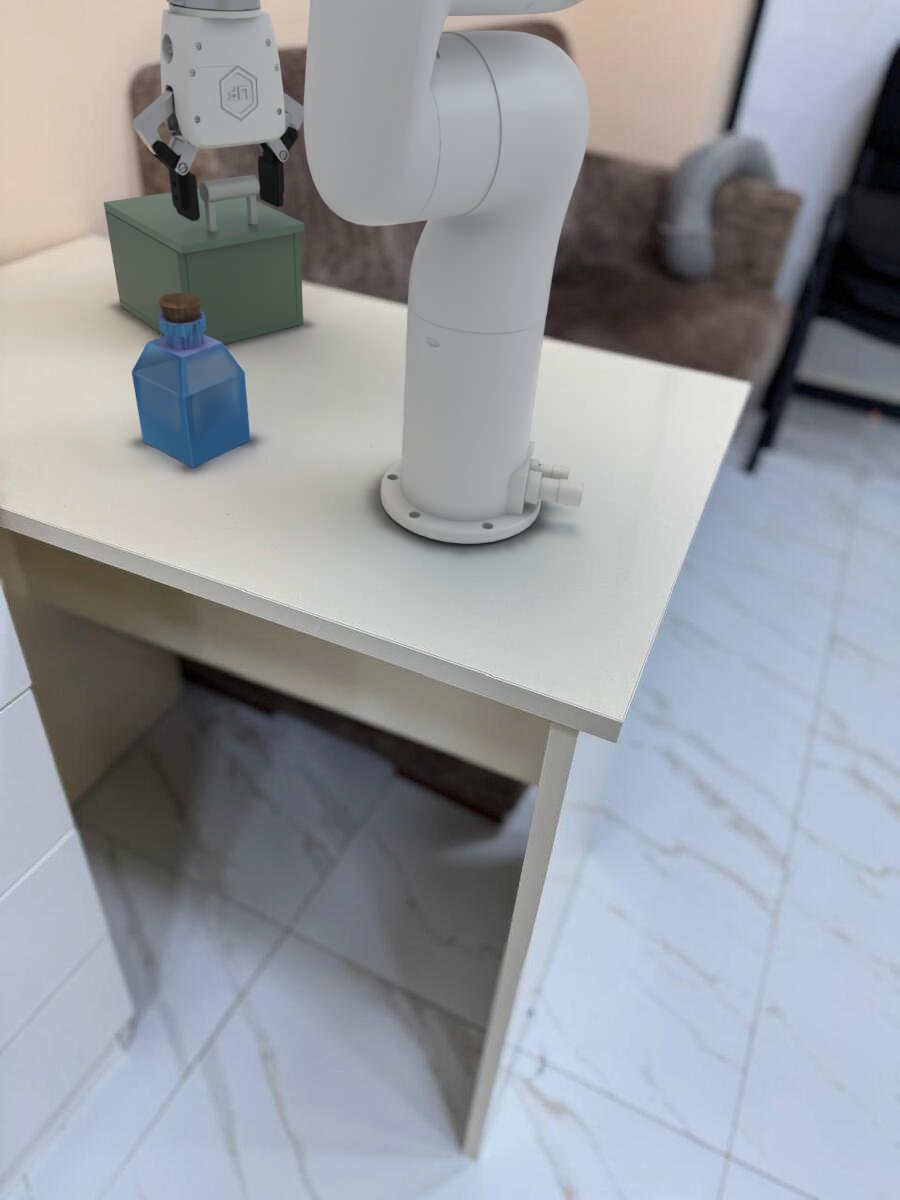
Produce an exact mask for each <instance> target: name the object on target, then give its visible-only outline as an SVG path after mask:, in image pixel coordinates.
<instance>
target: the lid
mask: <svg viewBox="0 0 900 1200" xmlns="http://www.w3.org/2000/svg"><path fill="white" fill-rule="evenodd" d="M197 192H198V202H199V211H200V218H199V219H198V220H197V221H191V220H189V219H187V218H185V217H183V216H182V215H180V214H178V213H177V210H176V208H175V207H174V205H173V201H172V193H171V191H170V192H165V193H158V194H149V195H143V196H136V197H130V198H129V197H128V198H122V199H115V200H107V201H103V207H104V211H107V212H109V213H111V214H113V215H114V216H116V217H118V218H120V219H121V220H123V221H125V222H127V223H128V224H130V225H132V226H134V227H135V228H137V229H139V230H141V231H142V232H144V233H146V234H148V235H149V236H151V237H153V238H155V239H156V240H158V241H160V242H162V243H163V244H165V245H167V246H169V247H170V248H172V249H174V250H176V251H177V252H179V253H181V254H186V253H191V252H196V251H202V250H207V249H213V248H218V247H223V246H229V245H234V244H240V243H245V242H250V241H256V240H261V239H267V238H272V237H277V236H283V235H288V234H294V233H299V232H300V233H304V232H306V223H305V222H303V221H301V220H299V219H296V218H295V217H292V216H290V215H289V214H286V213H283V212H281V211H279V210H277V209H276V208H273V207H271V206H268V205H266V204H264V203H262V202H260V201H258V200H257V196H258V195H260V185H259V178H257V176H256V175H255V174H249V175H242V176H233V177H226V178H219V179H213V180H205V181H201V182H199V184H198V187H197Z"/></svg>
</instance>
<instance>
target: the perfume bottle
mask: <svg viewBox="0 0 900 1200" xmlns="http://www.w3.org/2000/svg"><path fill="white" fill-rule="evenodd" d="M158 302H159V305H160V308H161V310H162V312H161V313H160V314H159V325H160V330H161V331H162V332H163V333H164V334H165V336H163V335H162V336H161V337H157V338H155V339H152V340H149V341H147V342H146V344H145V346H144V347H143V350H142V352H141V353H140V356H139V357H138V358H137V361H136V363H135V365H134V367H133V368H132V371H131V376H132V382H133V390H134V394H135V395H134V396H135V400H136V401H135V402H136V407H137V414H138V419H139V425H140V431H141V438H142V442H143V443H145V444H147V445H149V446H151V447H153V448H154V449H156V450H159V451H160V452H163V453H164V454H166V455H168V456H170V457H172V458H173V459H175V460H177V461H179V462H181V463H183V464H185V465H187V466H189V467H190V468H195V467H197V466H199V465H202V464H204V463H206V462H208V461H210V460H212V459H214V458H217V457H219V456H221V455H223V454H225V453H227V452H230V451H231V450H233V449H236V448H237V447H240V446H242V445H244V444H246V443H248V442H250V441H251V432H250V419H249V408H248V395H247V383H246V372H245V370H244V369H243V368H242V367H241V365H240V364H239V362H238V361H237V360H236V359H235V358H234V356H233V355H232V354H231V352H230V351H229V349H228V348H227V346H226V345H225V344H223V343H222V342H220V341H217V340H215V339H213V338H210V337H208V336H206V335H203V332H204V331H205V330H206V320H205V314H204V313H203V312H202V311H200V308H201V298H200V297H199V296H197V295H194V294H190V293H171V294H167V295H164V296H162V297H161V298H159V300H158Z"/></svg>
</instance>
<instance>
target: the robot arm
mask: <svg viewBox="0 0 900 1200" xmlns="http://www.w3.org/2000/svg"><path fill="white" fill-rule="evenodd" d="M582 1H583V0H309V12H308V29H307V42H306V43H307V44H306V56H305V57H306V59H305V71H304V73H305V74H304V92H303V105H302V104H301V103H299V102H298V101H297V100H295V99H294V98H293V97H291V96H289V94H287V93H286V92H284V85H283V78H282V70H281V62H280V56H279V50H278V44H277V40H276V35H275V30H274V27H273V23H272V19H271V15H270V12H269V13H268V12H266V11H262V8H261V0H166V3H168V8H167V9H163V10H162V17H161V26H160V27H161V29H160V51H159V53H160V54H159V55H160V56H159V57H160V85H161V94H160V95H159V96H158V97H157V98H156V99H155V100H154V101H152V103H150V104H149V105H148V106H147V107H146V108H144V110H142V111H141V113H139V114H138V115H137V116H136V117H135V118H133V121H132V127H133V129H134V130H135V132H136V133H137V135H138V136H139V138H140V139H141V141H142V142H143V143H144V145H145V146H146V149H147V151H149V153H150V154H151V155H152V156H153V157H155V159H157V160H158V161H159V162H160V163H161V164H162V166H163V167H164V168H166V169H168V176H169V184H170V192H171V193H172V201H173V205H174V207H175V208H176V210H177V213H178V214H180V215H182V216H183V217H185V218H187V219H189V220H191V221H197V220H198V219H199V218H200V211H199V202H198V192H197V189H198V181H197V177H196V175H195V174H194V173H192V172H191V170H190V169H191V167H192V165H193V163H194V161H195V159H196V156H198V153H199V151H200V149H203V150H210V149H211V150H212V149H222V148H232V147H238V146H247V145H257V146H258V147H259V149H260V151H261V152H262V154H261V155H258V158H257V171H258V181H259V185H260V191H259V199H260V200H261V201H263V202H265V203H268V205H272V206H273V207H276V208H282V207H284V193H285V169H284V163H285V162H287V161H288V159H289V157H290V156H289V155H290V153H289V152H290V151H291V149H292V147H293V146H294V145H295V143H296V141H297V140H298V137H299V131H300V130H301V127H302V124H303V135H304V137H303V138H304V147H305V154H306V160H307V164H308V169H309V171H310V175H311V178H312V181H313V183H314V185H315V188H316V190H317V193H318V194H319V196H320V198H321V199H322V201H323V202H324V203H325V204H326V206H327V207H328V208H329V209H330V210H331V212H333V213H334V214H335V215H336V216H338V217H340V218H341V219H342V220H345V221H347V222H349V223H352V224H354V225H359V226H365V227H386V226H395V225H401V224H403V225H404V224H405V225H406V224H410V223H411V224H413V223H417V222H423V221H424V222H425V221H426V223H425V225H424V228H423V230H422V232H421V234H420V237H419V238H418V242H417V245H416V247H415V250H414V253H413V258H412V261H411V265H410V270H409V277H408V278H409V279H408V292H407V293H408V294H407V309H406V311H407V312H406V335H405V337H406V338H405V359H404V360H405V361H404V368H405V369H404V386H403V387H404V389H403V390H404V391H403V414H402V415H403V416H402V417H403V418H402V439H401V441H402V442H401V459H399V460H397V461H396V462H395V463H394V464H392V465H391V466H389V467H388V468H387V470H386V472H384V474H383V475H382V479H381V482H380V501H381V504H382V506H383V508H384V511H385V512H386V513H387V515H388V516H390V517H391V519H392V520H393V521H395V522H396V523H398V524H399V525H400V526H402V527H403V528H405V529H406V530H408V531H411V532H412V533H415V534H416V535H419V536H422V537H425V538H428V539H431V540H435V541H440V542H445V543H452V544H461V545H462V544H464V545H467V544H468V545H469V544H473V545H475V544H485V543H494V542H497V541H502V540H505V539H508V538H510V537H513V536H515V535H518V534H520V533H521V532H523V531H525V530H526V529H528V528H529V527H530V526H531V525H532V524H533V523H534V522H535V521H536V519H537V517H538V515H539V513H540V511H541V504H542V502H549V503H554V504H557V505H561V506H562V505H563V506H570V507H575V508H580V506H581V502H582V497H583V496H582V495H583V491H584V490H583V489H584V481H581V480H573V479H569V474H570V466H567V465H558V464H546V463H540V462H541V460H540V459H536V458H533V456H534V448H535V442H534V441H532V440H530V439H531V438H530V437H531V432H532V431H531V430H532V423H533V416H534V407H535V401H536V394H537V393H536V392H537V386H538V379H539V372H540V363H541V356H542V350H543V349H542V348H543V343H544V342H543V341H544V335H545V327H546V319H547V314H548V308H549V301H550V296H551V295H550V294H551V287H552V281H553V280H552V279H553V274H554V268H555V263H556V257H557V252H558V247H559V241H560V237H561V234H562V230H563V226H564V221H565V218H566V215H567V211H568V208H569V205H570V202H571V199H572V196H573V194H574V190H575V188H576V184H577V181H578V178H579V176H580V172H581V168H582V165H583V162H584V159H585V154H586V149H587V146H588V139H589V132H590V115H591V113H590V103H589V96H588V91H587V87H586V83H585V81H584V78H583V76H582V74H581V72H580V70H579V68H578V66H577V65H576V64H575V62H574V61H573V59H572V58H571V57H570V56H569V55H568V53H567V52H566V51H565V50H563V49H562V48H561V47H560V46H558V45H557V44H555V43H554V42H553V41H551V40H549V39H547V38H544V37H541V36H539V35H536V34H532V33H529V32H523V31H517V30H516V31H514V30H506V29H505V30H502V29H501V30H500V29H499V30H497V29H496V30H491V29H490V30H456V31H455V30H453V31H443V29H444V26H445V22H446V20H447V17H472V16H475V17H476V16H477V17H478V16H479V17H480V16H520V15H521V16H522V15H541V14H550V13H554V12H559V11H563V10H566V9H569V8H571V7H574V6H576V5H578V4H579V3H581V2H582ZM163 123H165V128H166V131H167V133H168V135H170V136H171V138H170V140H169V142H168V144H167V143H166V142H164V140H163V139H162V137H161V135H160V133H159V127H160V126H161V125H162V124H163Z"/></svg>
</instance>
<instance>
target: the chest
mask: <svg viewBox="0 0 900 1200" xmlns="http://www.w3.org/2000/svg"><path fill="white" fill-rule="evenodd" d="M104 213H105V218H106V219H105V220H106V226H107V232H108V237H109V245H110V250H111V256H112V262H113V263H112V264H113V269H114V273H115V275H114V276H115V281H116V288H117V293H118V301H119V306H120V307H121V308H123V309H124V310H125V311H127V312H129V314H131V315H133V316H134V317H135V318H137V319H139V320H140V321H142V322H143V323H144V324H146V325H147V326H149V327H150V328H152V329H153V330H155V332H157V333H159V334H161V335H162V337H163V336H165V334H164V333H163V332H162V331H161V330H160V325H159V314H160V313H161V312H162V310H161V308H160V305H159V302H158V300H159V298H161V297H162V296H164V295H167V294H171V293H190V294H194V295H197V296H199V297H200V298H201V308H200V311H202V312H203V313H204V314H205V320H206V330H205V331H204V332H203V335H206V336H208V337H210V338H213V339H215V340H217V341H220V342H222V343H223V344H224V345H226V344H230V343H231V344H232V343H235V342H238V341H239V342H240V341H242V340H247V339H250V338H254V337H258V336H262V335H265V334H266V335H267V334H270V333H274V332H279V331H282V330H287V329H290V328H293V327H298V326H302V325H304V306H303V305H304V304H303V275H302V273H303V272H302V251H301V250H302V247H301V246H302V245H301V232H299V233H294V234H288V235H283V236H277V237H272V238H267V239H261V240H256V241H250V242H245V243H240V244H234V245H229V246H223V247H218V248H213V249H207V250H202V251H196V252H191V253H186V254H181V253H179V252H177V251H176V250H174V249H172V248H170V247H169V246H167V245H165V244H163V243H162V242H160V241H158V240H156V239H155V238H153V237H151V236H149V235H148V234H146V233H144V232H142V231H141V230H139V229H137V228H135V227H134V226H132V225H130V224H128V223H127V222H125V221H123V220H121V219H120V218H118V217H116V216H114V215H113V214H111V213H109V212H107V211H106V210H104Z"/></svg>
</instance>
